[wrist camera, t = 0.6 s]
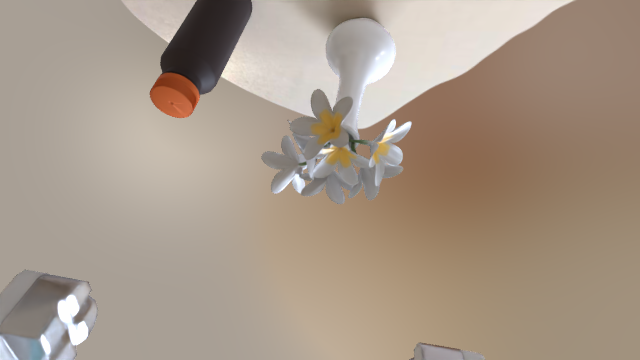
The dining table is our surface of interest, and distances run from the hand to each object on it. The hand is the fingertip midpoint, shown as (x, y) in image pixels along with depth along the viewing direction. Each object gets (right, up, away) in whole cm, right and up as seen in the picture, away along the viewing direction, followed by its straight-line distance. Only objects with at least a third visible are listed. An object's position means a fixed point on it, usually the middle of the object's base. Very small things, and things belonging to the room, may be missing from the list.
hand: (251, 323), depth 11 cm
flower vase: (+8, +23, +50) cm, 55 cm away
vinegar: (-11, +28, +49) cm, 57 cm away
